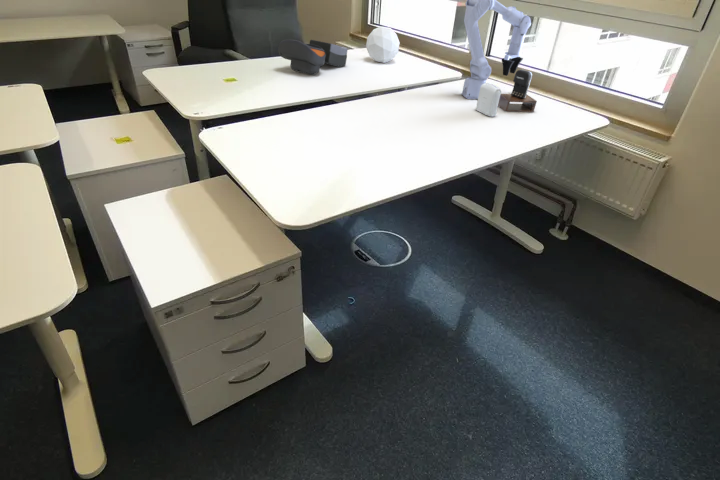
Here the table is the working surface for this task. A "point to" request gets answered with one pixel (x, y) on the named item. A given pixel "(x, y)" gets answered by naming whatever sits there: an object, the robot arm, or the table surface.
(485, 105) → the photo printer
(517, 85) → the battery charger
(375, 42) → the geometric orb
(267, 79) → the table surface
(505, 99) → the shelf
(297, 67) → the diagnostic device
